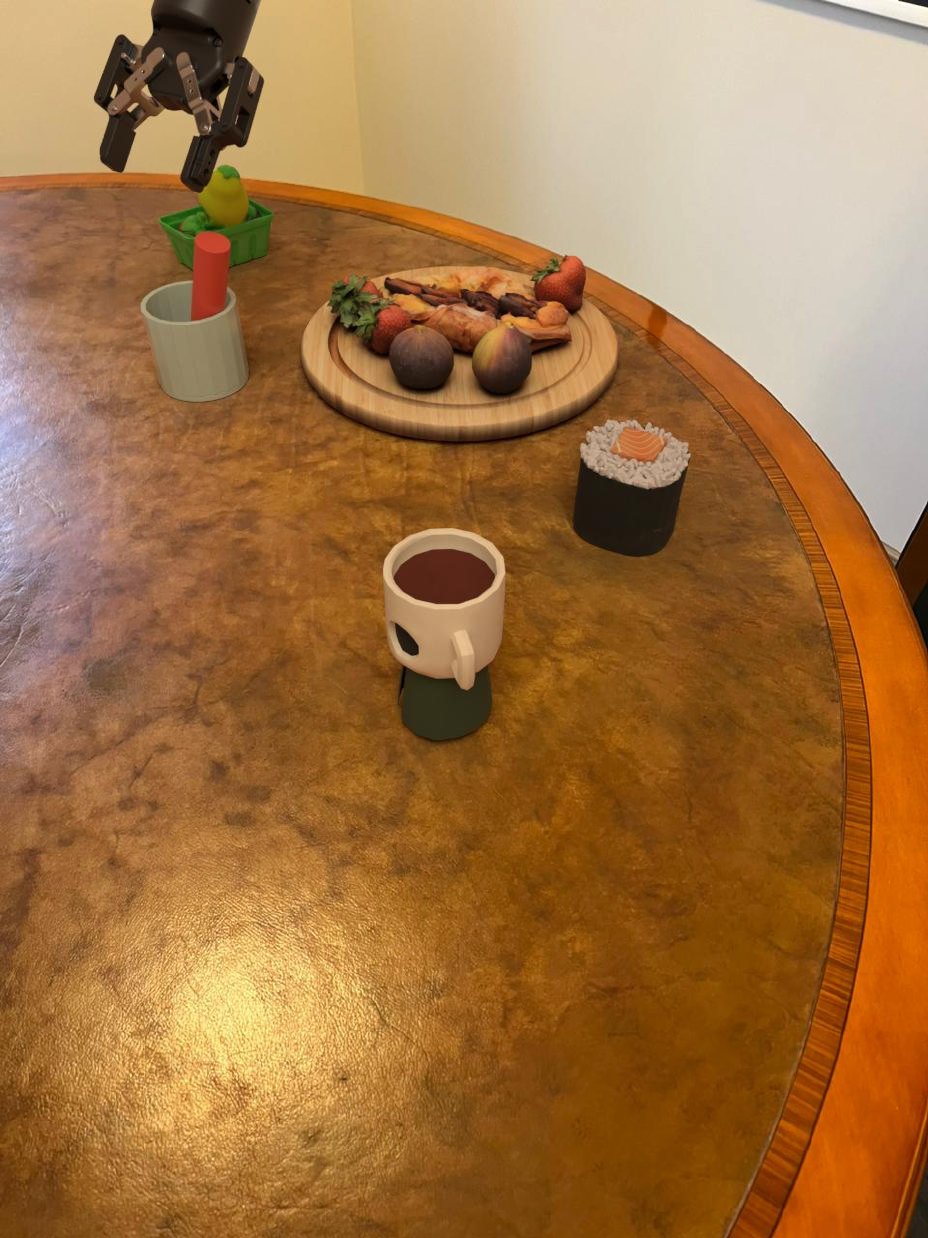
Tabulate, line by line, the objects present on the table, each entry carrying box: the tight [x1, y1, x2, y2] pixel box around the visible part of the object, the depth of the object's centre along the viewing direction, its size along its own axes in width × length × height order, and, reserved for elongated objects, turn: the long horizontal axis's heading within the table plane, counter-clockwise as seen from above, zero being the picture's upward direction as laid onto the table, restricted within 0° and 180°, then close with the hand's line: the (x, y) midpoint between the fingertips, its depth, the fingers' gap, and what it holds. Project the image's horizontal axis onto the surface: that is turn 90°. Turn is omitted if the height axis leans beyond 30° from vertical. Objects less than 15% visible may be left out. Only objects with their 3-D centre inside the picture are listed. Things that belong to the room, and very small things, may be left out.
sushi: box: [572, 419, 692, 558], centre depth 74 cm, size 8×8×8 cm
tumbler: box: [139, 279, 250, 403], centre depth 89 cm, size 9×9×8 cm
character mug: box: [382, 527, 507, 742], centre depth 58 cm, size 11×7×13 cm, turn 15°
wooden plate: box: [299, 254, 621, 442], centre depth 92 cm, size 32×32×8 cm
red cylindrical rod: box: [191, 232, 231, 321], centre depth 85 cm, size 3×3×14 cm
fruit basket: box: [157, 164, 275, 271], centre depth 106 cm, size 11×9×11 cm
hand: (149, 177), depth 77 cm, fingers open, 8 cm apart
